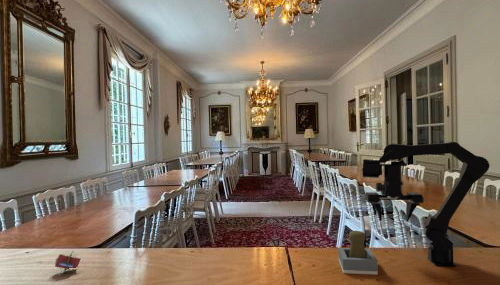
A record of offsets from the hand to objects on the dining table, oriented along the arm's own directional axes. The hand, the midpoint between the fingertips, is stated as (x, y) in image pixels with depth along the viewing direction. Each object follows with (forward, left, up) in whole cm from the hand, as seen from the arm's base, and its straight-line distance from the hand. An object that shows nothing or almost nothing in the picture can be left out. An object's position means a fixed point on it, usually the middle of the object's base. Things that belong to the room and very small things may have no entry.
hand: (393, 221), depth 111 cm
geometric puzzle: (+113, +24, -13) cm, 116 cm away
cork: (+15, +11, -12) cm, 22 cm away
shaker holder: (+15, +11, -13) cm, 22 cm away
